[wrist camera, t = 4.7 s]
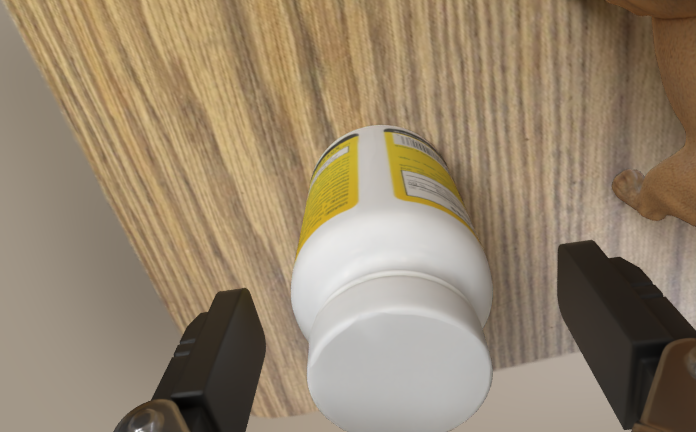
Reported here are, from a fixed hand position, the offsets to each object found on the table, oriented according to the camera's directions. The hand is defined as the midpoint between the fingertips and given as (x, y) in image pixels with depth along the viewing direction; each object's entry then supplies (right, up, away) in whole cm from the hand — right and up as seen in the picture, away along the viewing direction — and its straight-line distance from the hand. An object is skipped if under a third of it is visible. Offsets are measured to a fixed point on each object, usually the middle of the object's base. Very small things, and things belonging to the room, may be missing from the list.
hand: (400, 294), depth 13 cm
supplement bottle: (0, +3, +7) cm, 7 cm away
